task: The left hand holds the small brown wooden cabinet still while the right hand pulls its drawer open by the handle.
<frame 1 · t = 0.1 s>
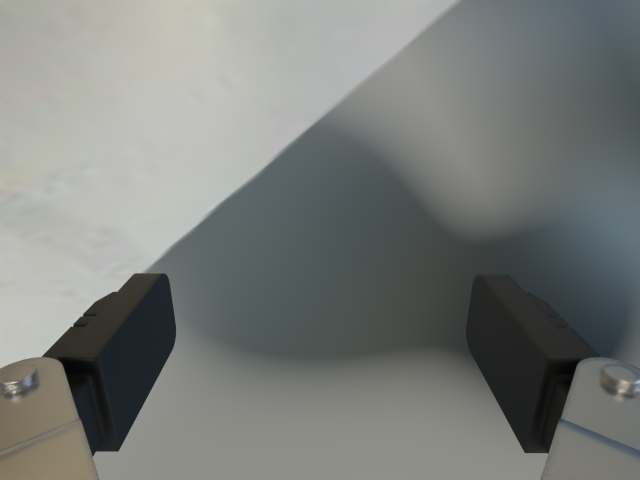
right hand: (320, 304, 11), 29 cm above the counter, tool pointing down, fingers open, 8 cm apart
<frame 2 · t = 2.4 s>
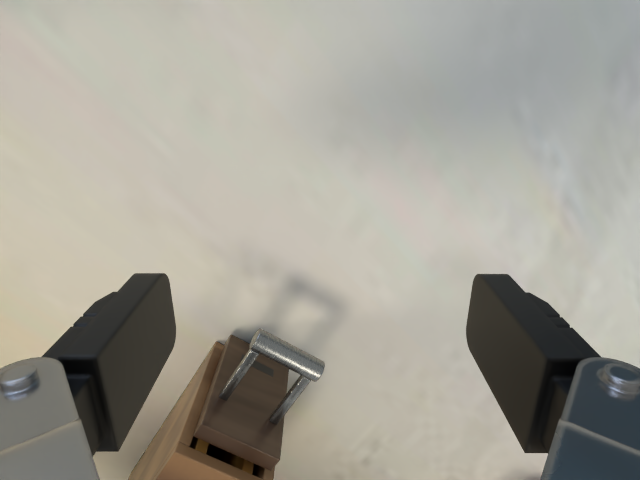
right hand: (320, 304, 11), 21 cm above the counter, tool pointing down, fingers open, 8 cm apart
drawer: (217, 438, 33), point 6 cm above the counter, slide at 0.7 cm
cabinet: (203, 426, 40), on the counter
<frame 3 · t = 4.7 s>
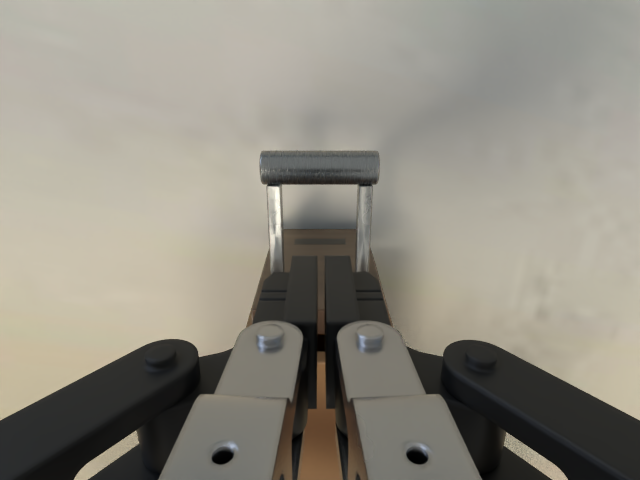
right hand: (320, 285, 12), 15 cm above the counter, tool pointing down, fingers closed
drawer: (319, 352, 24), point 6 cm above the counter, slide at 0.7 cm
cabinet: (320, 366, 31), on the counter, touching left hand
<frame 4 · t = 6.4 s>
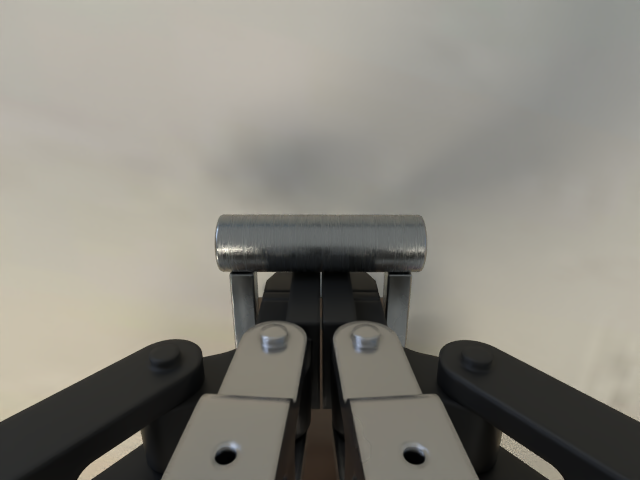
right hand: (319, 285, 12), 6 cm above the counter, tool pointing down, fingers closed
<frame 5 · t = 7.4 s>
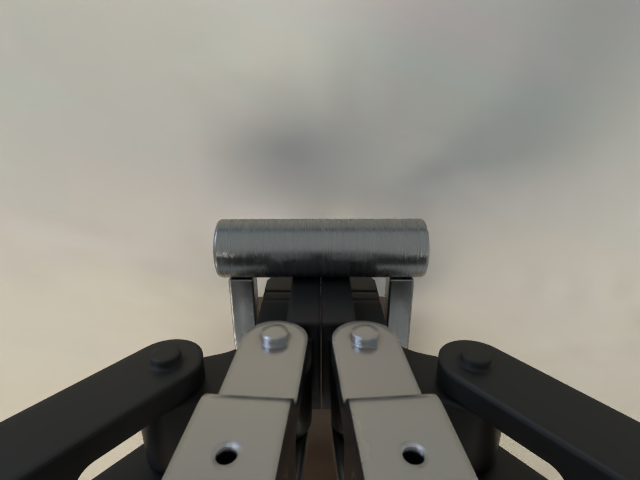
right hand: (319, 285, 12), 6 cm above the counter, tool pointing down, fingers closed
when the left hand's fingers open (6 cm above the counter, at t = 9.0 s): cabinet stays where it is, on the counter.
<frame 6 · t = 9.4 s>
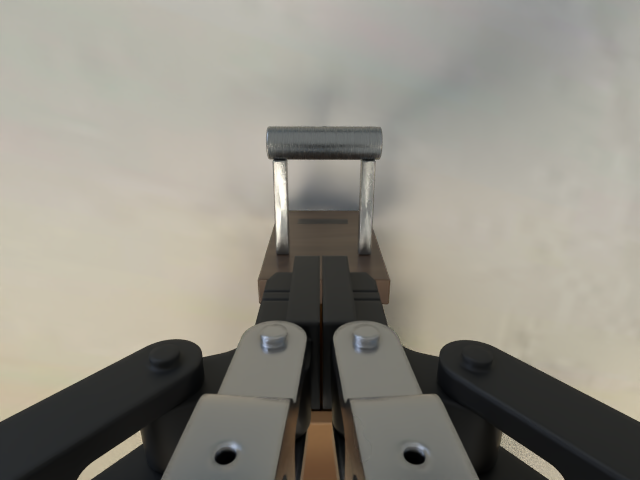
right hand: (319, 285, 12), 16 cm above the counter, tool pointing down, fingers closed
drawer: (322, 329, 24), point 6 cm above the counter, slide at 5.7 cm
cabinet: (321, 401, 33), on the counter
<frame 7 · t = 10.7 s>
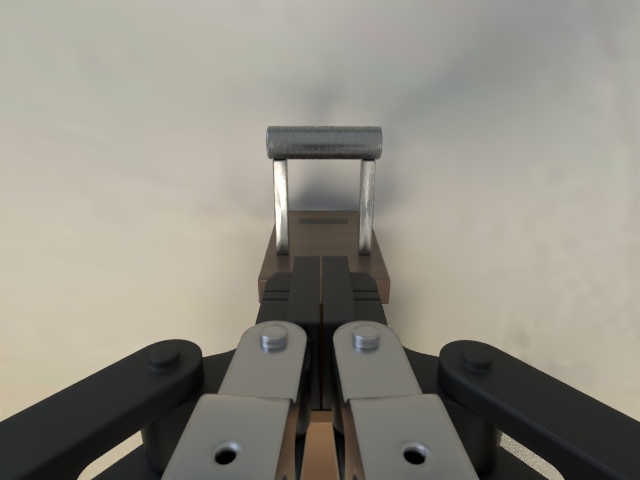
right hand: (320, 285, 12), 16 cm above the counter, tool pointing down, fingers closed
drawer: (322, 329, 24), point 6 cm above the counter, slide at 5.7 cm
cabinet: (321, 401, 33), on the counter
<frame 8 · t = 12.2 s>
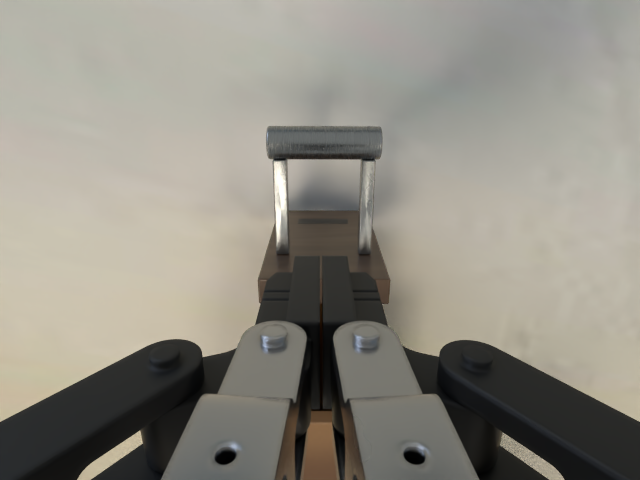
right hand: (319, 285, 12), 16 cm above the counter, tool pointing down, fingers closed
drawer: (322, 329, 24), point 6 cm above the counter, slide at 5.7 cm
cabinet: (321, 401, 33), on the counter
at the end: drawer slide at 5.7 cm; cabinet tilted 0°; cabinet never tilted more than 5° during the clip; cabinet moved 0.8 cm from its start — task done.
